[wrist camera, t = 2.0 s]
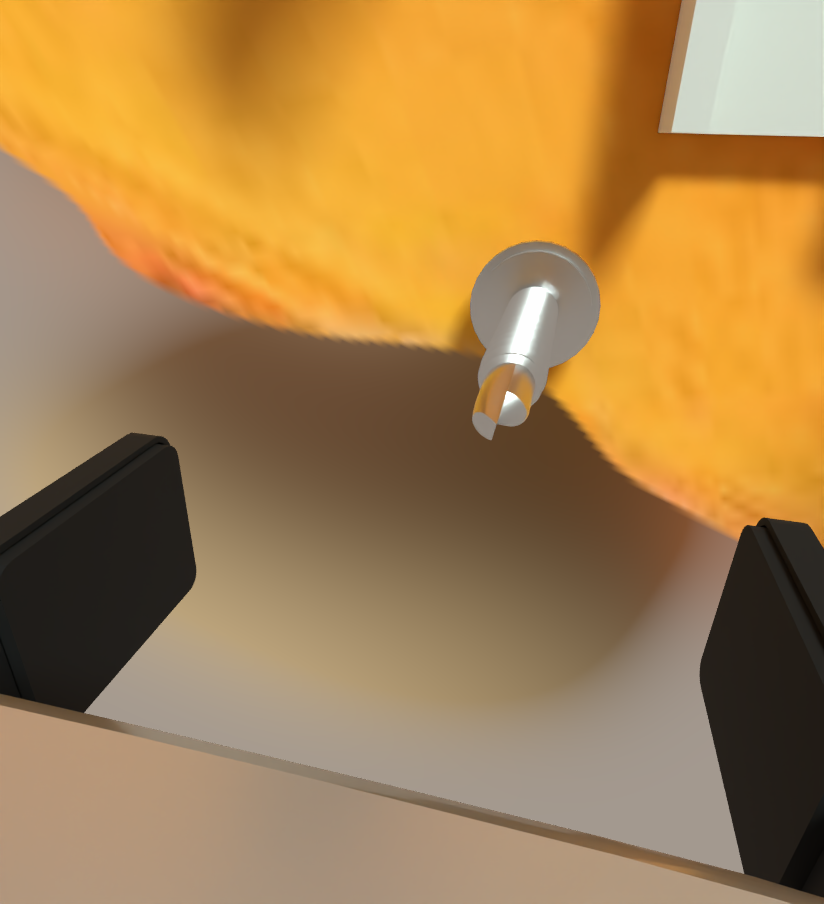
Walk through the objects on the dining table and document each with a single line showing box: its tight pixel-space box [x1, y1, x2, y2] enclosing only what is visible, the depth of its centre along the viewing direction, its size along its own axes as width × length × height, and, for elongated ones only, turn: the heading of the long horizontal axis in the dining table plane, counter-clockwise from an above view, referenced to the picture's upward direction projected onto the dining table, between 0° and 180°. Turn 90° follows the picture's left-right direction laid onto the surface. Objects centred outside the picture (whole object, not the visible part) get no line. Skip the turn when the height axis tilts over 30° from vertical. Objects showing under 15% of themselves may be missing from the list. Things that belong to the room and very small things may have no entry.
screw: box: [470, 240, 600, 440], centre depth 20 cm, size 13×5×5 cm
